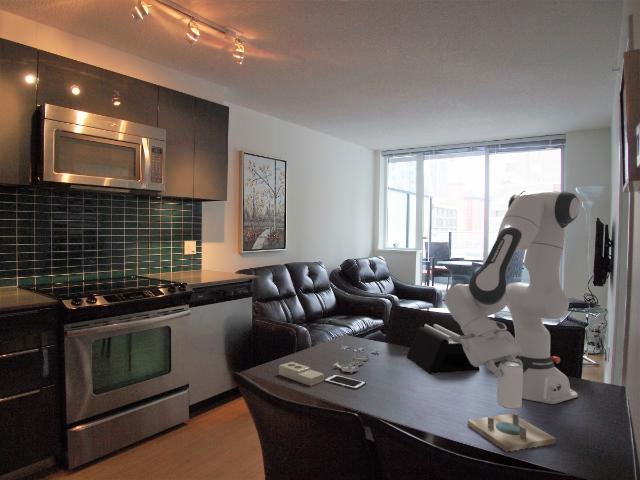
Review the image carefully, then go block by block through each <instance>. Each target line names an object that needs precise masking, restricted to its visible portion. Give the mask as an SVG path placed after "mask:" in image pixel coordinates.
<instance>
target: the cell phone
mask: <svg viewBox="0 0 640 480" xmlns="http://www.w3.org/2000/svg"><path fill="white" fill-rule="evenodd" d="M323 382H325V383H329V384H332V385H336V386H340V387H344V388H348V389H351V390H354V391H356V390H359V389H361V388H362V387H364V386H365V385H367V382H366V381H364V380H359V379H355V378H351V377H346V376H344V375H338V374H331V375H330V376H329V377H326V378H324V381H323Z"/></svg>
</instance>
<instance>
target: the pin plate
mask: <svg viewBox="0 0 640 480" xmlns="http://www.w3.org/2000/svg"><path fill="white" fill-rule="evenodd" d="M467 426H468V427H470V428H471V429H473V430H474V431H476V432H477V433H478V434H480V435H481V436H483V437H484V436H485V437H486V439H487V438H488V439H489V440H488V439H487V440H488V441H490V442H491V441H492V442H491V443H493V444H494V445H495V444H496V445H495V446H497V447H498V446H499V449H501V448H502V449H503V451H504V450H505V451H506V453H508V452H507V451H511V452H514V451H513V450H517V451H520V450H519V449H523V450H526V449H525V448H528V449H533V448H532V447H534V448H539V447H544V445H545V446H550V445H555V444H556V437H554V436H552V435H550V434H549V433H547V432H545V431H544V430H542V429H540V428H538V427H536V426H535V425H533V424H531V423H530V422H528V421H526V420H525V419H523V418H521V417H520V416H519V414H518V413H516V412H513V413H506V414H500V415H493V416H485V417H479V418H471V419H467ZM485 437H484V438H485ZM538 446H539V447H538ZM502 449H501V450H502ZM505 451H504V452H505Z"/></svg>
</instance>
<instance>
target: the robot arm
mask: <svg viewBox="0 0 640 480" xmlns="http://www.w3.org/2000/svg"><path fill="white" fill-rule="evenodd" d="M507 208H508V209H507V210H506V212H505V214H504V217H503V218H502V221H501V224H500V227H499V229H498V232H497V237H496V240H495V241H494V244H493V246H492V247H491V249H490V252H489V253H488V256H487V257H486V259H485V261H484V263H483V264H482V265H481V266H480V268H478V270H476V271H475V272H474V273H473V274H472V275H471V277H470V279H469V281H468V282H469V283H468V284H463V283H456V284H455V285H453V286H451V287H450V288H448V290H447V291H446V293H445V295H444V303H445V306H446V308H447V310H448V312H449V314H450V315H451V317H452V318H453V320H454V321H455V322H457V323H458V324H459V327H460V329H461V332H462V333H463V335H460V336H461V339H460V342H461V344H462V345H463V349H464V352H465V354H466V356H467V358H468V359H469V361H470V363H471V364H472V365H473V366H475V367H478V366H479V367H482V366H485V367H486V368H487V370H489V371H490V372H492V373H493V374H494V375H495V377H496V378H497V379H498V378H499V377H502V376H503V375H504V373H503V372H502V370H501V369H499V368H498V367H497V366H496V364H495V363H499V362H500V361H501V360H513V361H517V362H519V363H521V364H522V369H523V387H522V400H523V399H524V400H528V401H534V402H541V403H545V404H549V405H555V404H558V403H562V402H565V401H569V400H571V399H572V400H573V399H575V398H577V397H578V393H577V392H576V391H575V390H573V389H571V387H570V381H569V378H568V376H566V374H564V373H563V372H562V371H560V369H558V368H557V367H555V364H554V363H556V364H559V363H560V362H561V359H560V357H558V356H556V355H555V356H554V355H553V356H551V333H550V331H549V330H548V328H546V326H545V324H544V322H543V320H542V319H545V320H558V319H561V318H563V317H564V316H565V315H566V314H567V313H568V310H569V307H570V301H569V298H568V296H567V295H566V293H565V292H564V290H563V289H562V286H561V281H560V273H559V272H560V266H561V260H562V255H563V249H564V245H565V237H566V236H565V234H566V230H565V229H566V227H567V226H568V225H569V224H572V223H573V222H574V221H575V220H576V218H578V216H579V215H578V214H579V212H580V200H579V198H578V197H577V195H576V194H575V193H573V192H568V191H564V190H563V191H557V190H548V189H547V190H546V189H544V190H543V189H542V190H531V191H526V190H523V191H518V192H514V194H513V195H512V196H511V197H510V198H509V200H508V203H507ZM524 250H525V255H524V259H523V260H524V261H523V265H524V267H525V269H526V270H527V271H528V276H529V282H524V281H519V282H518V281H517V282H511V283H508V284H507V280H506V273H507V271H508V268H509V267H510V264H511V262H512V260H513V258H514V255H515V254H516V252H519V251H520V252H521V251H524ZM506 307H507V310H508V311H509V313H510V316H511V319H512V320H511V321H512V323H513V327H514V328H513V329H514V336H513V335H512V334H511V332H510V331H508V327H507V326H506V324H505V323H503V322H500V321H497V320H496V321H495V320H493V319H490V318H489V317H488V316H491V315H493V314H496V313H499V312H501V311H503V310H504V309H505V308H506Z"/></svg>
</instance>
